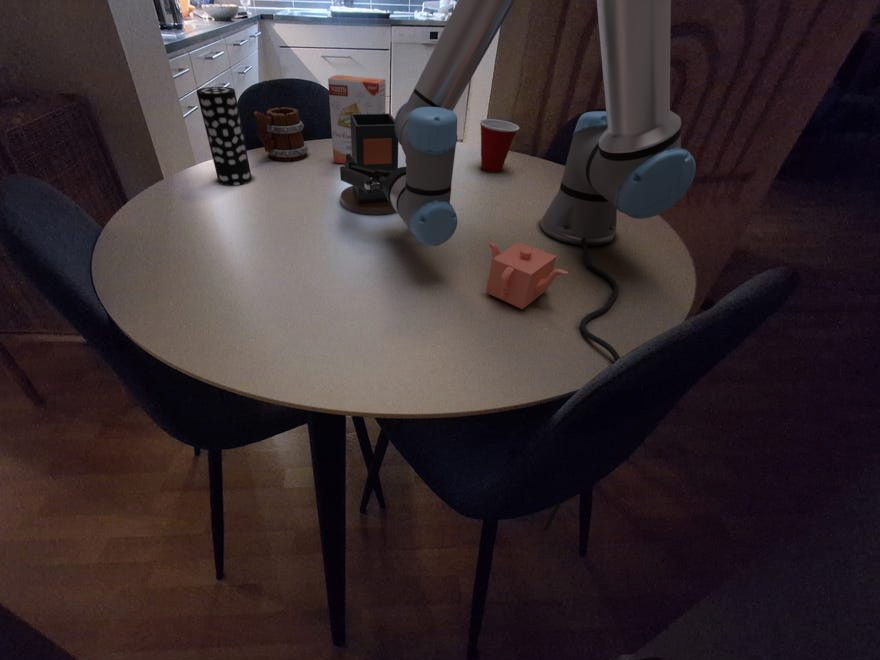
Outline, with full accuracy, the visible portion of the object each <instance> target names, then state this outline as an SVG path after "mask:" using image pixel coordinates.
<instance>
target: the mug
mask: <svg viewBox="0 0 880 660" xmlns="http://www.w3.org/2000/svg"><path fill="white" fill-rule="evenodd" d="M253 115H254V117H256V120H257V122H256V132H257V135H258V138H259V139H260V142H261V144H262V145H263V149H264V151H265V152H266V153H268V154H269V156H270V158H271V159H272V160H275V161H279V162H291V161H292V162H295V161H299V160H303V159H304V158H306V156H307V153H308V150H309V147H308V145H307V143H306V142H305V141H304V140H305V139H304V135H303V129H304V127H305V124H304V122H303V121H302V120H301V119H300V112H299V110H298V109H297V108H294V107H287V106H286V107H284V106H282V107H273V108H269V109H268V110H267V111H266V115H265V114H264V113H261V112H259V111H257V110H255V111H254V112H253ZM267 132H268V133H267Z"/></svg>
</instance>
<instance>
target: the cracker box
mask: <svg viewBox="0 0 880 660" xmlns="http://www.w3.org/2000/svg"><path fill="white" fill-rule="evenodd" d="M386 81H387V80H386V79H384V78H383V79H382V78H373V77H363V76H353V75H344V74H343V75H342V74H335V75H333V76H330V77H328V78H327V85H328V98H329V113H330V114H329V115H330V128H331V130H330V131H331V144H332V155H333V156H332V159H333V163H335V164H343V165H345V163H346V154H350V155H351V157H352V147H351V124H350V114H386V107H387V106H386V94H387V93H386V83H387V82H386Z"/></svg>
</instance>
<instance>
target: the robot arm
mask: <svg viewBox="0 0 880 660" xmlns="http://www.w3.org/2000/svg"><path fill="white" fill-rule="evenodd" d="M515 2H516V0H457V2H456V4H455V6H454V8H453V10H452V12H451V14H450V15H449V17H448V20H447V22H446V23H445V25H444V28H443V30H442V32H441V34H440V36H439V38H438V40H437V42H436V44H435V45H434V48H433V50H432V52H431V54H430V56H429V58H428V60H427V62H426V64H425V66H424V68H423V70H422V72H421V74H420V76H419V79H418V80H417V82H416V84H415V86H414V89H413V91H412V92H411V94H410V96H409V98H408V100H407V101H406V102H405V103H404V104H402V105H401V106H400V107H399V108H398V110H397V111H396V113H395V118H394V119H395V122H394V126H395V134H396V137H397V140H398V144H399V145H400V146H401V149H402V151H403V153H404V156H405V166H400V167H398V168H397V169H395V170H394V171H391V170H390V171H386V170H382V169H378V170H376V171H375V170H371V169H367V168H363V167H359V166H356V162H355V161H354V160H353V158H352V157H351V155H350V154H346V163H345V164H344V166H340V167H339V177H340V181H341V182H344V183H346V184H348V185H350V186H355V187H358V188H360V189H362V190H364V191H365V192H366V193H367V194H371V193H372V190H373V189H379V190H381V191H383V192H384V194H385V196H386V198H387V200H388V201H389V202H390V204H391V205H392V206H393V207H394V209H395V210H396V211H397V212H396V213H397V214H398V216H399V217H400V218H401V220H403V222H404V224H405V225H406V226H407V228H408V229H409V232H410V234H411V235H412V236H413V237H414V238H416V240H417V241H419V242H420V243H421V244H423V245H424V246H428V247H437V246H440V245H443V244H445V243H446V242H448V241H449V240H450V239H451V238H452V237H453V235H455V232H456V231H457V227H458V214H457V212H456V210H455V209H454V207H453V205H452V204H451V198H452V197H451V195H452V181H453V174H454V173H453V172H454V167H455V165H454V164H455V155H456V148H457V143H458V137H459V136H458V117H457V114H456V113H455V111H454V110H455V108H456V106H457V104H458V102H459V101H460V99H461V98H462V95H463V94H464V92H465V90H466V88H467V87H468V85H469V83H470V81H471V80H472V78H473V76H474V74H475V73H476V71H477V69H478V67H479V65H480V64H481V62H482V60H483V58H484V57H485V55H486V53H487V51H488V49H490V46H491V44H492V42H493V40H494V39H495V37H496V35H497V33H498V32H499V30H500V28H501V26H502V24H503V23H504V21H505V19H506V17H507V15H508V14H509V12H510V10H511V8H512V7H513V5H514V3H515ZM671 7H672V0H596V8H597V19H598V32H599V45H600V54H601V66H602V67H601V69H602V77H603V80H602V81H603V90H604V91H603V92H604V102H605V110H600V111H599V110H597V111H587V112H584V113H582V115H580V117H579V118H578V120H577V123H576V126H575V129H574V131H573V133H572V140H571V144H570V148H569V151H568V155H567V159H566V162H565V166H564V170H563V174H562V179H561V182H560V185H559V189H558V192H557V193H556V195H555V196H554V198H553V200H552V201H551V203H550V204H549V206H548V208H547V209H546V210H545V212H544V214H543V216H542V220H541V224H540V227H541V229H542V231H543V232H544V233H545V234H546V235H547V236H549V237H551V238H553V239H555V240H557V241H560V242H563V243H566V244H569V245H574V246H582V252H583V261H584V263H585V265H586V266H587V267H588V268H589V269H590V270H591V271H593V272H594V273H596V274H597V275H599V276H601V277H603V278H604V279H606V280H607V282H609V283H610V284H611V286H612V291H613V292H612V294H611V296H610V298H609V299H608V301H607V302H606V303H605V305H603V306H602V307H600V308H599V309H596V310H594V311H592V312H590V313H588V314H587V315H585V316H584V317H583V318H582V319H581V321H580V331H581V332H582V334H583V336H585V337H586V338H587V339H589V340H591V341H592V342H594V343H596V344H597V345H600V346H601V347H602V348H604V349H605V350H606V351H607V352H608V353H609V354H610V355H611V356H612V358H613V360H614V362H615V361H617V360H618V359H619V358H620V359H621V356H620V354H619V353H618V351H617V350H616V349H615V348H614V346H612V345H611V344H610V343H608V342H607V341H605V340H604V339H602V338H600V337H598V336H597V335H595V334H593V333H592V332H590V331H589V330H588V328H587V324H588V321H590V320H591V319H593V318H595V317H597V316H599V315H601V314H603V313H605V312H606V311H607V310H609V309H610V308H611V307H612V305H613V304H614V303H615V301H616V299H617V297H618V295H619V293H620V292H619V285H618V282H617V281H616V280H615V279H614V278H613V277H612V276H611V275H609V274H608V273H607V272H605V271H604V270H602V269H600V268H598V267H597V266H595V265H594V264H593V263H592V262H591V261H590V258H589V248H588V247H599V246H603V245H606V244H608V243H610V242H612V241H613V239H614V236H615V234H616V232H617V217H618V212H620V213H622V214H625V215H626V216H628V217H629V218H632V219H637V220H642V219H643V220H644V219H645V220H646V219H649V218H653V217H656V216H658V215H661V214H663V213H664V212H666V211H668V210H669V209H671V208H672V207H674V205H675V204H677V203H678V202H679V200H680V199H681V198H682V197H683V196H684V195H685V194H686V193H687V191H688V190H689V189H690V187H691V185H692V183H693V181H694V179H695V175H696V170H697V168H696V167H697V166H696V165H697V164H696V161H695V159H694V157H693V155H692V154H691V153H690V152H689V150H686V148H682V118H681V117H680V116H679V115H678V114H676V113H675V112H673V111H672V110H671V29H672V28H671V25H672V24H671V23H672V22H671V20H672V18H671V17H672V16H671V15H672V13H671V12H672V8H671ZM381 175H383V176H382V177H381ZM617 211H618V212H617ZM562 504H563V502H560V503H559V504H556V503H555V505H554V507H553V508H552V510H551V513H550V515H549V516H548V519H547V520H546V522H545V524H544V527H543V531H544V532H548V531H549V528H550V526H551V525H552V523H553V520H554V518H555V516H556V515H557V513H558V511H559V509H560V507H561V506H562Z"/></svg>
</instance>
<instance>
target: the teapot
mask: <svg viewBox="0 0 880 660" xmlns="http://www.w3.org/2000/svg"><path fill="white" fill-rule="evenodd" d="M486 244H487V245H488V246H489V247H490V249H491V253H492V254H491V255H492V259H491V263H490V269H489V274H488V280H487V285H486V291H485V293H486V294H488V295H491V296H493V297H495V298H497V299H500V300H502V301H503V302H506V303H508V304H510V305H512V306H514V307H516V308H518V309H521V310H524V309H525V308H527V306H529V305H530V304H531V303H533V302H534V301H535V300H536V299H538V297H540V296H541V295H542V294H544V293H545V292H547V291H548V289H549V287H550V286H552V284H553V283H554V281H555V280H556V278H557V277H558V276H560V275H565V274H566V275H567V274H569V271H567V270H565V269H562V268H556V269H554V268H555V265H556V261H557V258H558V256H557V255H555V254H552V253H550V252H547V251H544V250H542V249H540V248H536V247H534V246H531V245H528V244H525V243H523V242H520V241H519V242H517V243H515V244H514V245H512V246H510V247H509V248H507V249H505V250H504V251H502V252H500V249H499V246H498V245H497V244H496V243H495V242H493V241H490V240H486Z"/></svg>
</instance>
